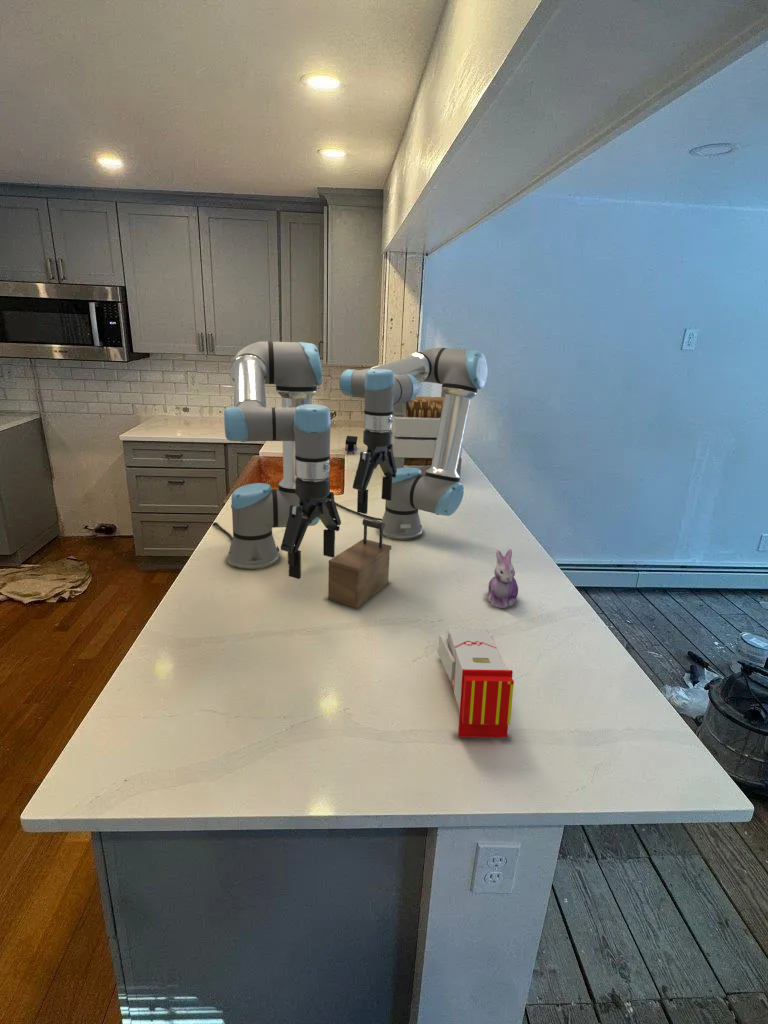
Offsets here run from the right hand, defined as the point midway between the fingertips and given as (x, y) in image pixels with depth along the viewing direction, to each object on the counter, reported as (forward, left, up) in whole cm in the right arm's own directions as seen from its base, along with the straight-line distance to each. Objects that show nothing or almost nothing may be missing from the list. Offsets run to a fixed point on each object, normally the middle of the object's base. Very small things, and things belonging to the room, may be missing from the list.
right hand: (374, 506), depth 156 cm
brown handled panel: (+2, -6, -13) cm, 14 cm away
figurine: (+30, +22, -23) cm, 44 cm away
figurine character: (-127, +90, -23) cm, 157 cm away
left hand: (+13, -29, -5) cm, 33 cm away
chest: (+2, -6, -23) cm, 24 cm away
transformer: (-76, +92, -23) cm, 121 cm away
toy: (+51, -15, -23) cm, 58 cm away
